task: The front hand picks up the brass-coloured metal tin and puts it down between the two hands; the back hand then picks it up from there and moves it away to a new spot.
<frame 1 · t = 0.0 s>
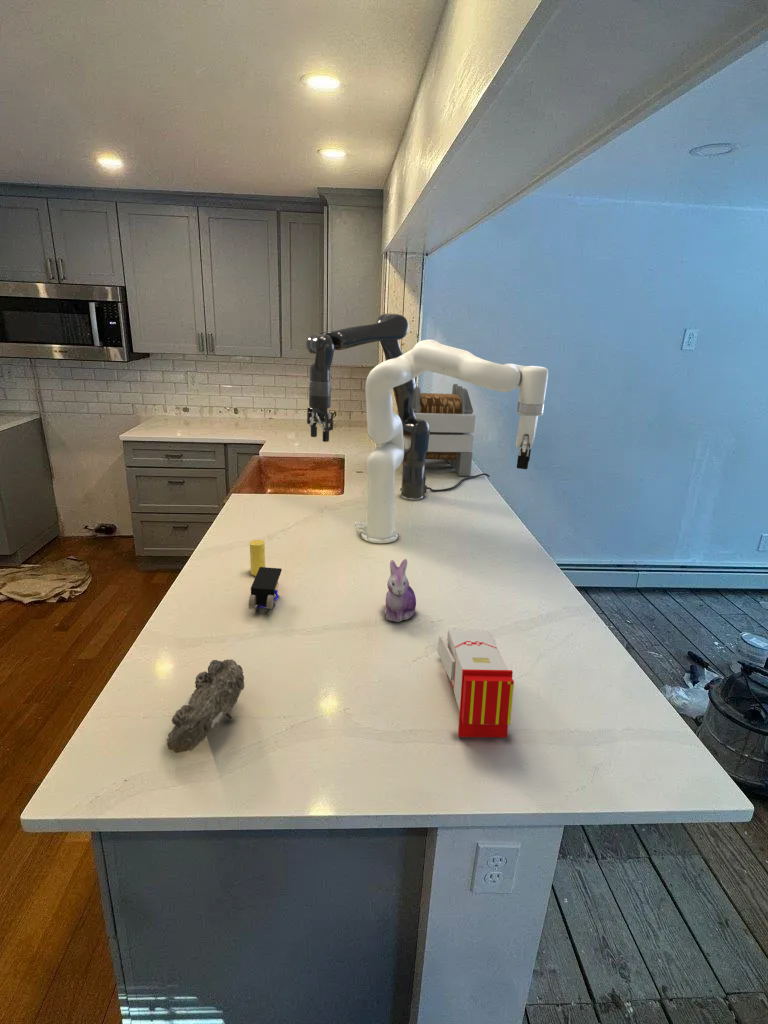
front hand: (523, 464, 174), 31 cm above the counter, tool pointing down, fingers open, 9 cm apart
back hand: (319, 439, 204), 29 cm above the counter, tool pointing down, fingers open, 8 cm apart
toy: (469, 691, 119), on the counter
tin: (258, 572, 166), on the counter
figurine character: (266, 604, 149), on the counter
transformer: (431, 467, 287), on the counter
figurine: (399, 614, 147), on the counter
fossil: (212, 717, 108), on the counter
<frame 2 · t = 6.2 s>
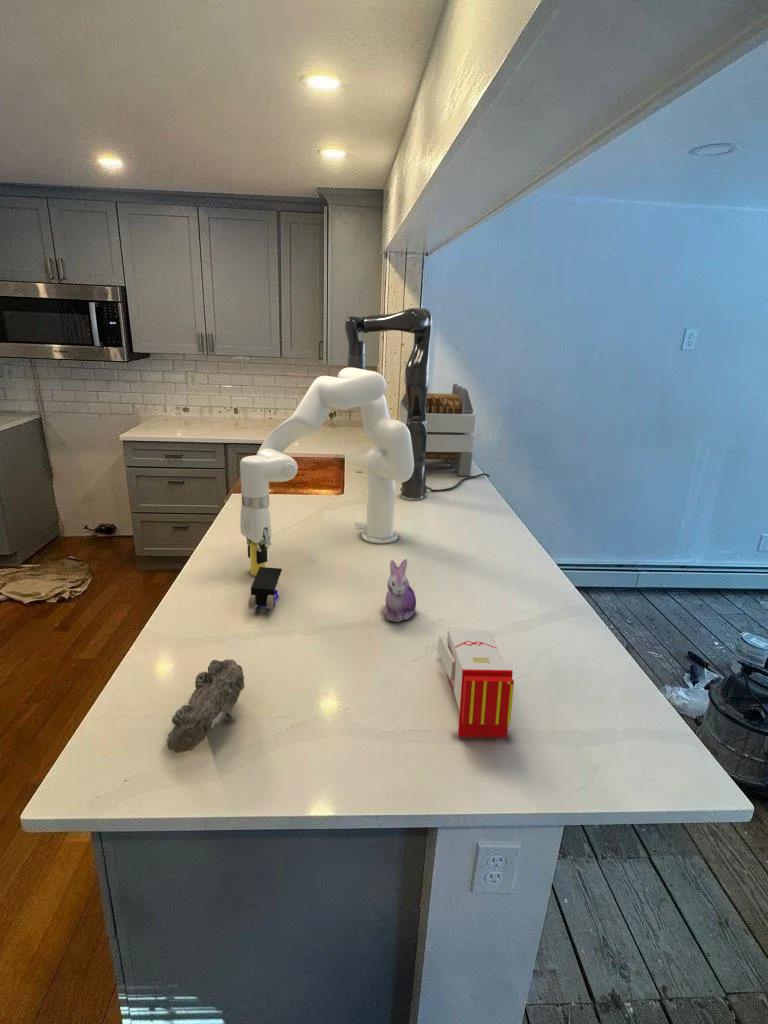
front hand: (257, 559, 165), 4 cm above the counter, tool pointing down, fingers closed on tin, 4 cm apart
back hand: (355, 403, 248), 35 cm above the counter, tool pointing down, fingers open, 8 cm apart
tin: (258, 572, 166), on the counter, touching front hand
everything else where it was.
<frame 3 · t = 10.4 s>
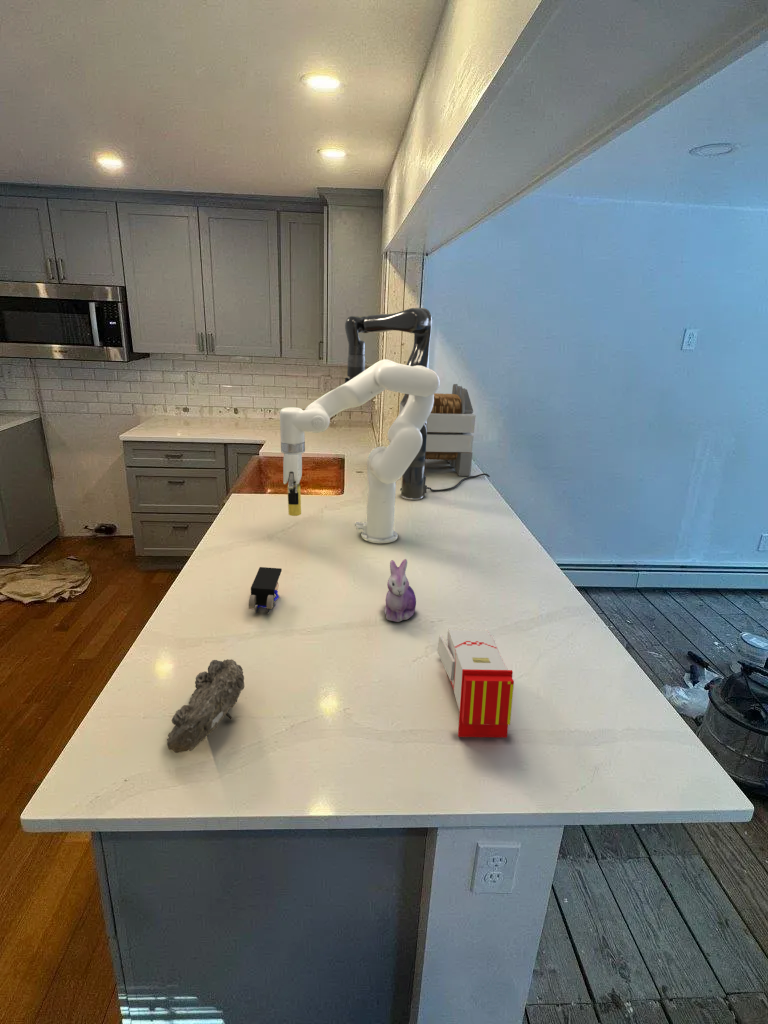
front hand: (294, 501, 186), 14 cm above the counter, tool pointing down, fingers closed on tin, 4 cm apart
back hand: (355, 403, 248), 35 cm above the counter, tool pointing down, fingers open, 8 cm apart
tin: (294, 513, 187), point 10 cm above the counter, touching front hand
everything else where it was.
when the front hand's fingers open (5 cm above the counter, at t = 14.7 s): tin drops 1 cm, on the counter.
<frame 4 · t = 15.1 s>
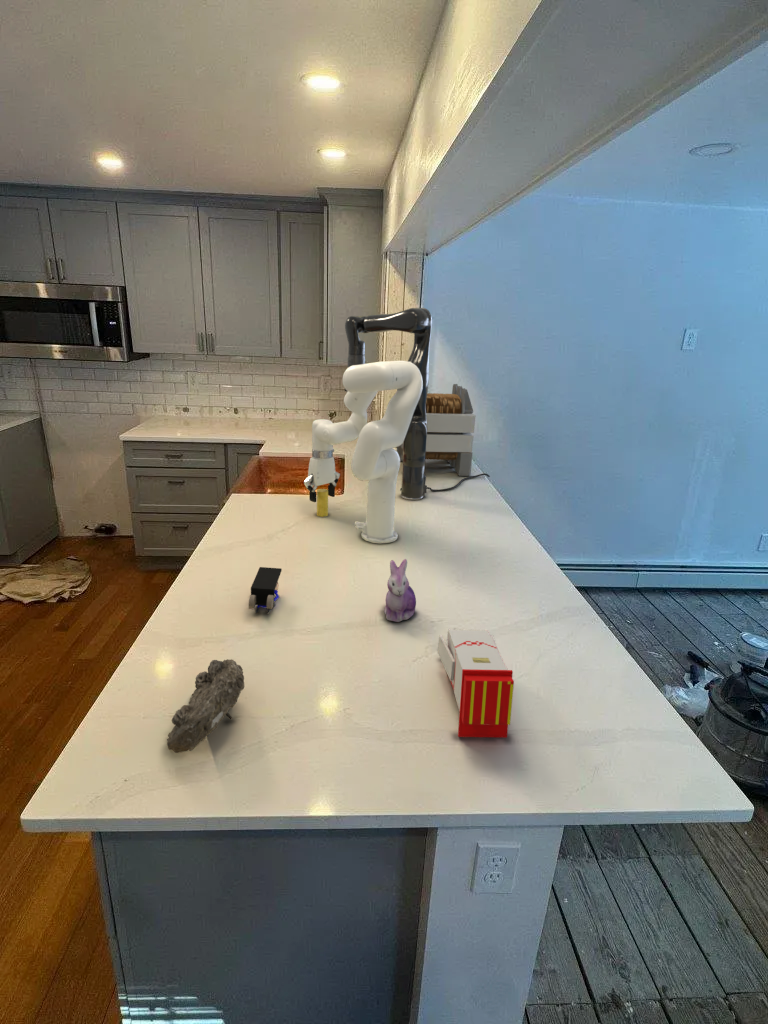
front hand: (322, 498, 213), 6 cm above the counter, tool pointing down, fingers open, 8 cm apart
back hand: (355, 403, 248), 35 cm above the counter, tool pointing down, fingers open, 8 cm apart
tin: (322, 514, 215), on the counter
everything else where it was.
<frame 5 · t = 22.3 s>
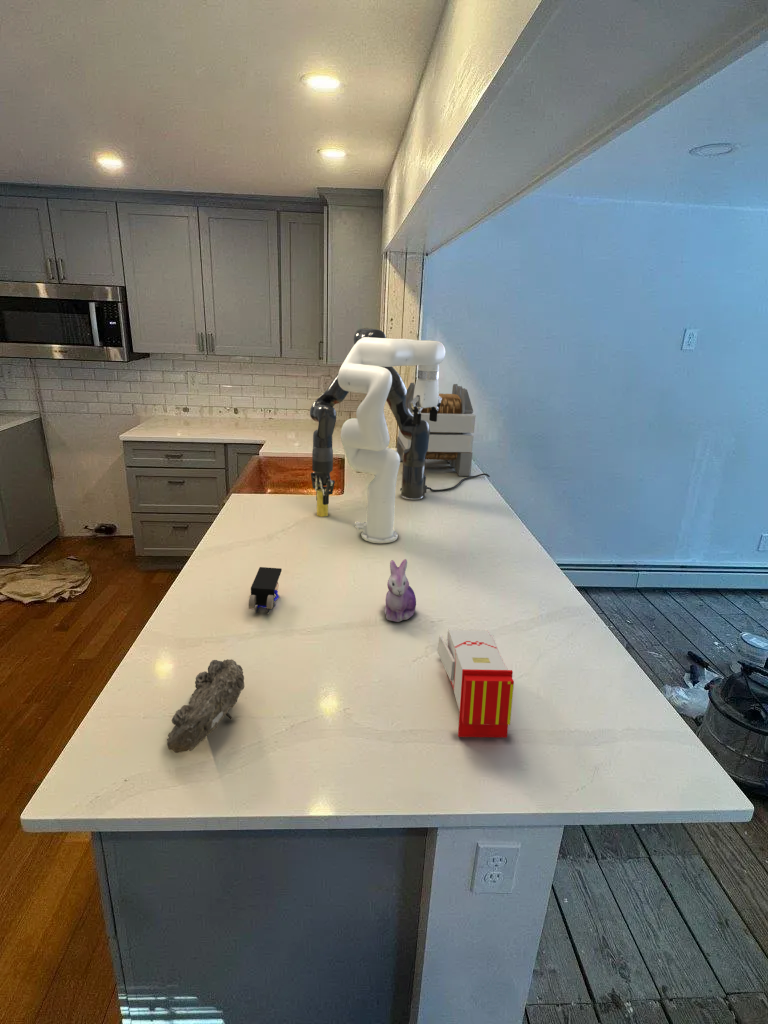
front hand: (424, 422, 212), 35 cm above the counter, tool pointing down, fingers open, 9 cm apart
back hand: (322, 502, 213), 5 cm above the counter, tool pointing down, fingers closed on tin, 4 cm apart
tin: (322, 514, 215), on the counter, touching back hand
everything else where it was.
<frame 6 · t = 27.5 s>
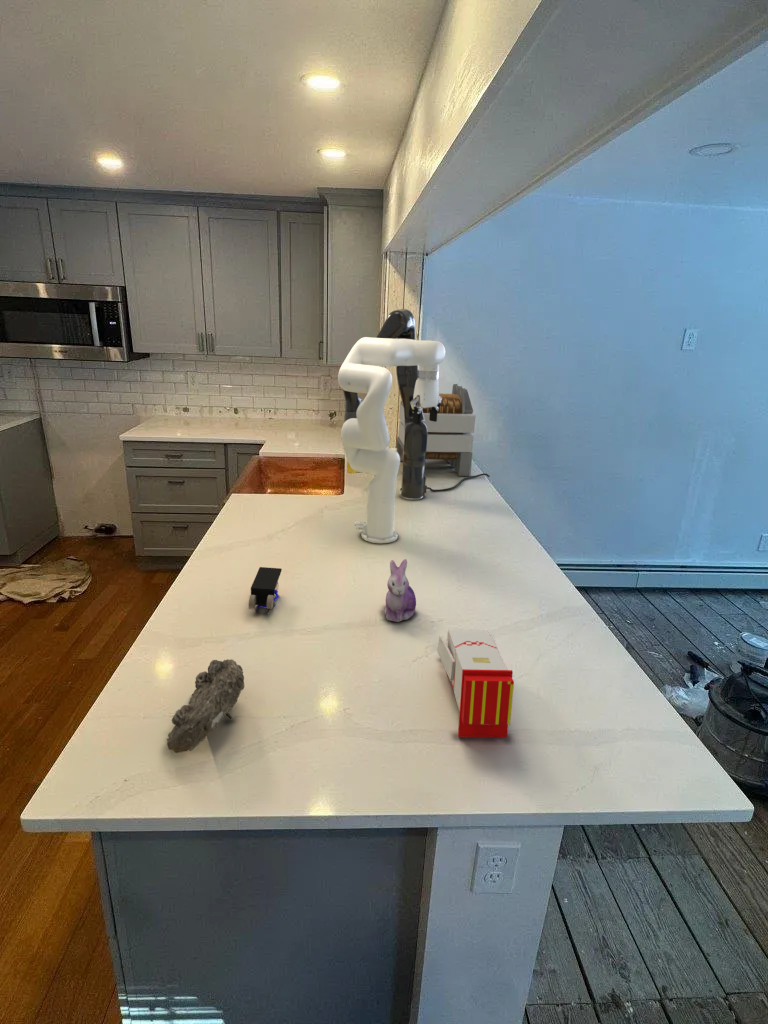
front hand: (424, 422, 212), 35 cm above the counter, tool pointing down, fingers open, 9 cm apart
back hand: (352, 460, 245), 12 cm above the counter, tool pointing down, fingers closed on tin, 4 cm apart
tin: (352, 472, 246), point 7 cm above the counter, touching back hand
everything else where it was.
when the back hand's fingers open (6 cm above the counter, at t = 32.8 s): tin stays where it is, on the counter.
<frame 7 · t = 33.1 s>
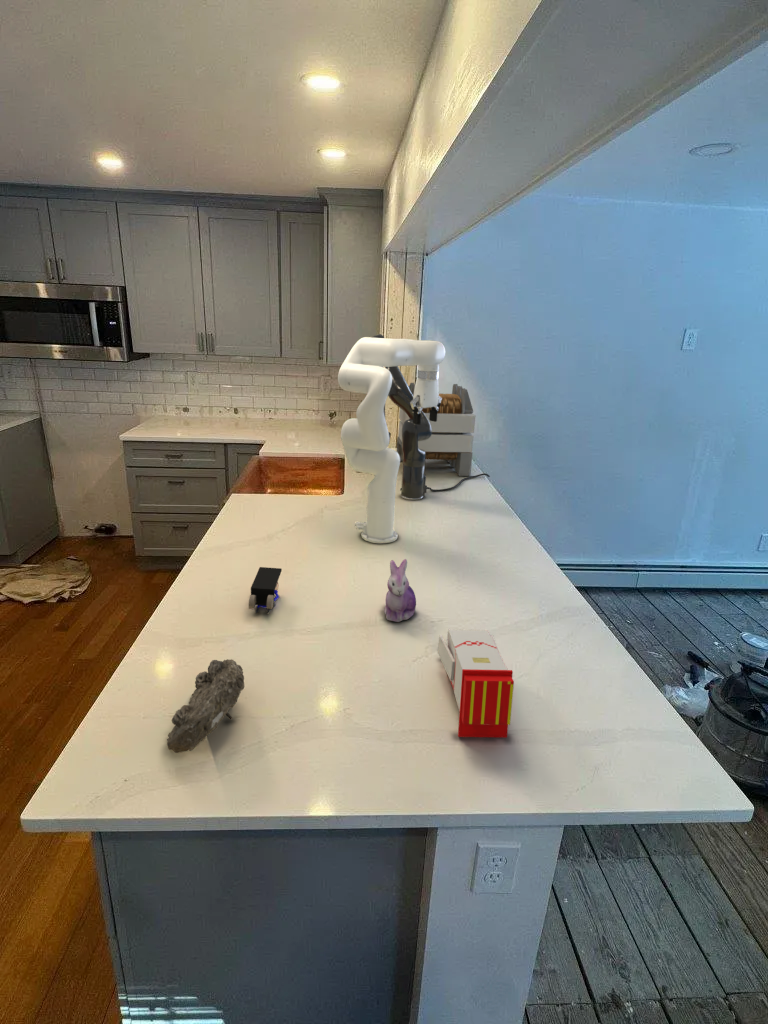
front hand: (424, 422, 212), 35 cm above the counter, tool pointing down, fingers open, 9 cm apart
back hand: (376, 452, 283), 7 cm above the counter, tool pointing down, fingers open, 6 cm apart
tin: (375, 465, 285), on the counter
everything else where it was.
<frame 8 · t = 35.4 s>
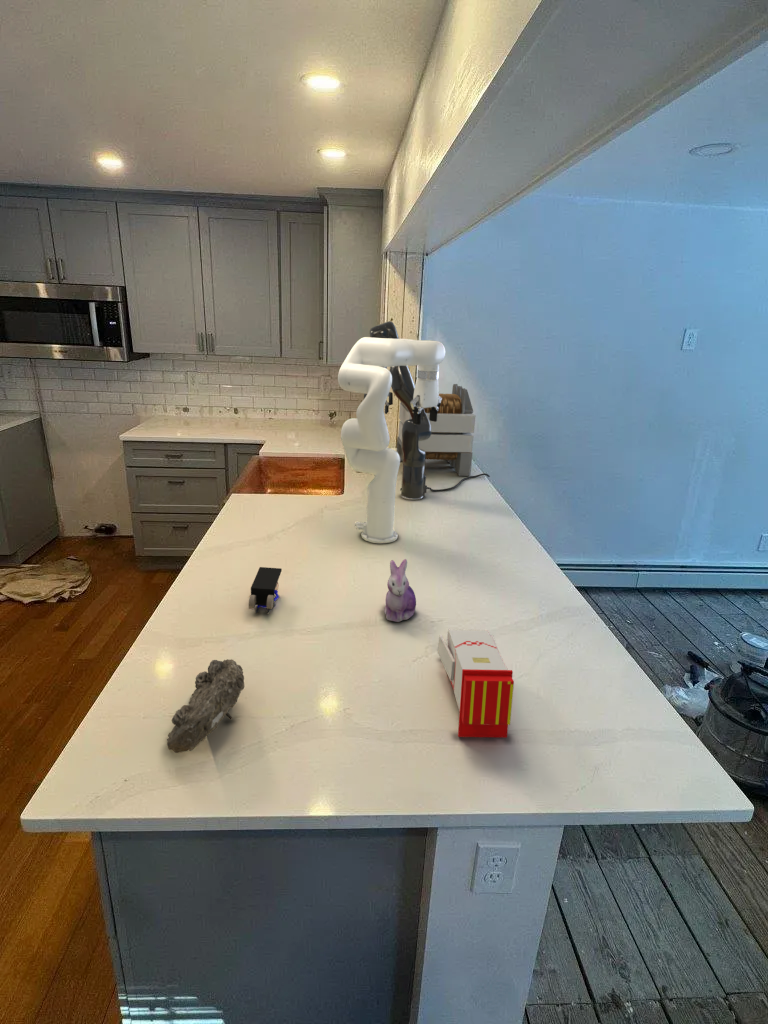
front hand: (424, 422, 212), 35 cm above the counter, tool pointing down, fingers open, 9 cm apart
back hand: (377, 413, 276), 26 cm above the counter, tool pointing down, fingers open, 8 cm apart
nothing on the counter moved.
at the end: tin inside the target area (0.1 cm from its centre), on the counter; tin tilted 0°; the two hands never held the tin at the same time; the front hand is holding nothing; the back hand is holding nothing; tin at rest at the end (0.0 cm/s) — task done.
